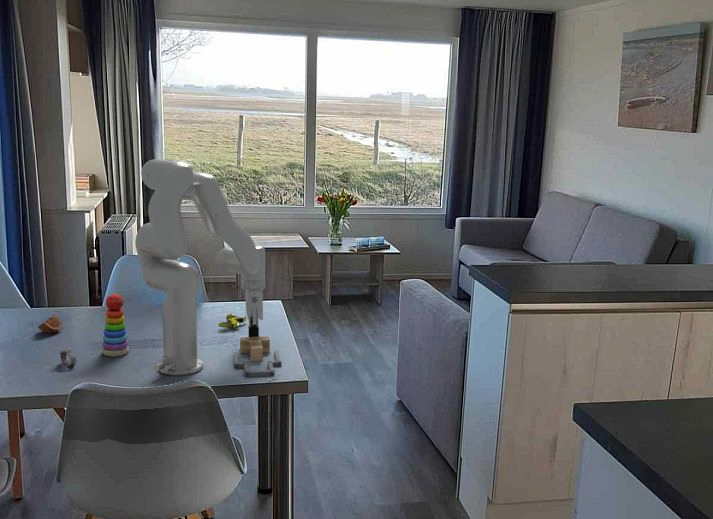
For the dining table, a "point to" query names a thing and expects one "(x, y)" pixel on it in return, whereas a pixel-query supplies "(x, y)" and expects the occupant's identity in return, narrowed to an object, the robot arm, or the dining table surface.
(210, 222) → the robot arm
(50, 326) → the fruit slice
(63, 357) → the wristwatch
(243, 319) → the toy motorcycle
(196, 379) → the dining table surface
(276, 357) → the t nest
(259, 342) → the oak t block
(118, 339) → the stacking toy
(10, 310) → the dining table surface
